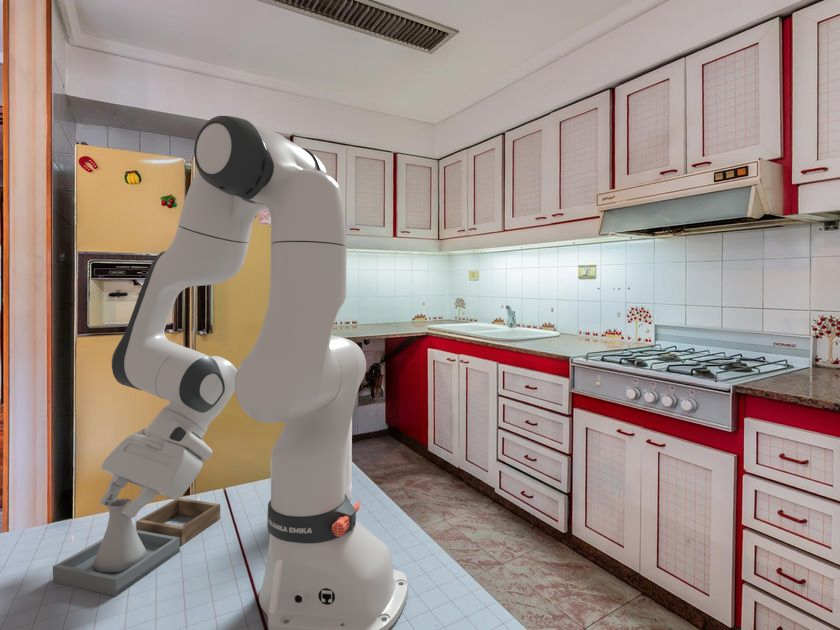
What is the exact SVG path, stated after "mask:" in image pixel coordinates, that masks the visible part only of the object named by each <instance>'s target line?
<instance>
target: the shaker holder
mask: <svg viewBox="0 0 840 630" xmlns="http://www.w3.org/2000/svg"><path fill="white" fill-rule="evenodd" d="M178 515H182V516H186V517H187V516H188V517H193V518H192V519H191V520H189V521H187V522H185V523H184V524H183V525H181V526H180V525H176V524H170V523H166V522H168V521H170V520H172V519H174V518H175V517H176V516H178ZM219 520H221V503H216V502H215V503H214V502H209V501H208V502H207V501H202V500H196V499H195V500H194V499H189V498H183V497H182V498H181V497H179V498H177V499H175V500H172V501H170V502H168V503H166V504H164V505H162V507H159V508H157V509H156V510H154V511H152V512H150V513H148V514H146V515H145V516H143V517H142V518H140V519H138V520H136V521H135V530H140V531H145V532H151V533H157V534H162V535H168V536H173V537H179V538H180V546H184V545H185V544H186V543H188V542H189V541H190V540H192V539H193V538H195V537H196V536H198V535H199V534H201V533H202V532H203V531H205V530H207V529H208V528H210V526H212V525H213V524H215V523H217V522H218V521H219Z"/></svg>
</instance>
